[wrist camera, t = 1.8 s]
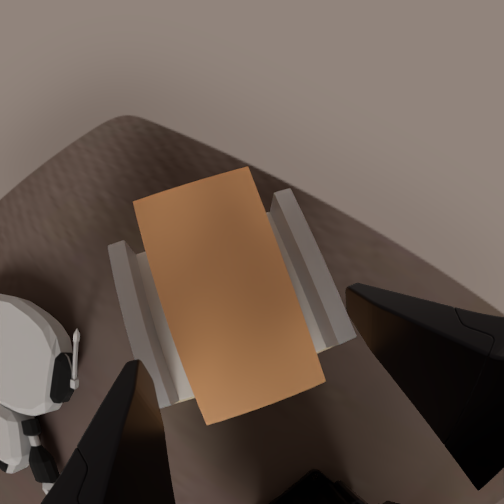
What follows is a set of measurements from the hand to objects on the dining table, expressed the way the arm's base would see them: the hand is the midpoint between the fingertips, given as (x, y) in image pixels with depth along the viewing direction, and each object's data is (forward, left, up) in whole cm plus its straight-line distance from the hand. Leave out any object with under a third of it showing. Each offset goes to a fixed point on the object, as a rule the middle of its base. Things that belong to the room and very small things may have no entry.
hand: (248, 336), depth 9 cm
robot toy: (-16, +8, -13) cm, 22 cm away
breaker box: (+1, +2, -13) cm, 13 cm away
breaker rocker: (+1, +2, -3) cm, 4 cm away
